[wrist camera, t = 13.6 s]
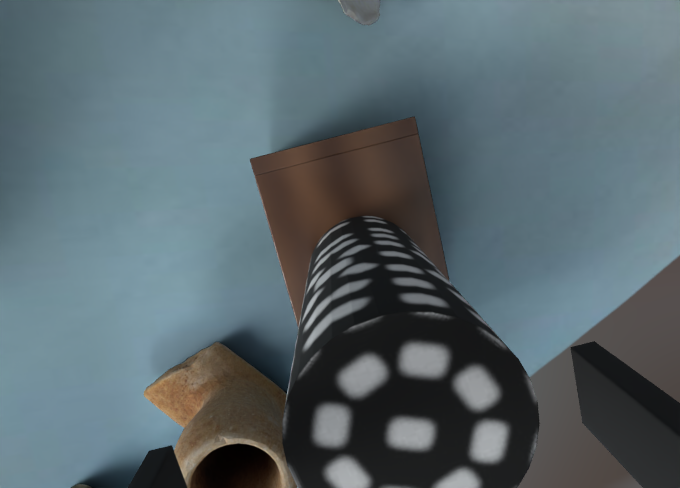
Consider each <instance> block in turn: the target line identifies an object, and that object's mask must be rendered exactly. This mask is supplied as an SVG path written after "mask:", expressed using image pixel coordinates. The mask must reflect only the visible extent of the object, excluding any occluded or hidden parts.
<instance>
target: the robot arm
mask: <svg viewBox="0 0 680 488" xmlns="http://www.w3.org/2000/svg"><path fill="white" fill-rule="evenodd" d="M571 353H572V359H573V366H574V372H575V378H576V385H577V391H578V397H579V403H580V410H581V416H582V423H583V424H584V425H585V426H586V427H587V428H588V429H589V430H590V431H591V433H592V434H593V435H594V436H595V437H596V438H597V439H598V440H599V441H600V442H601V443H602V444H603V445H604V446H605V448H606V449H607V450H608V451H609V452H610V453H611V454H612V455H613V456H614V457H615V458H616V459H617V460H618V461H619V463H620V464H621V465H622V466H623V467H624V468H625V469H626V470H627V471H628V472H629V473H630V474H631V475H632V476H633V478H634V479H636V481H637V482H638V483H639V484H640V485H641V486H642V487H643V488H680V403H679V402H677V401H676V400H674V399H673V398H672V397H670V396H669V395H668V394H666V393H665V392H664V391H662V390H661V389H660V388H658V387H657V386H655V385H654V384H653V383H651V382H650V381H648V380H647V379H646V378H644V377H643V376H641V375H640V374H639V373H637V372H636V371H635V370H633V369H632V368H630V367H629V366H628V365H626V364H625V363H624V362H622V361H621V360H619V359H618V358H617V357H615V356H614V355H612V354H611V353H609V352H608V351H607V350H605V349H604V348H603V347H601V346H600V345H599V344H597V343H596V342H590V343H586V344H582V345H578V346H574V347H571ZM128 488H187V485H186V482H185V480H184V477H183V474H182V471H181V469H180V466H179V463H178V461H177V458H176V455H175V453H174V450H173V447H172V445H171V446H167V447H163V448H159V449H155V450H151V451H149V452H148V454H147V455H146V457H145V459H144V460H143V462H142V464H141V466H140V467H139V469H138V471H137V472H136V474H135V476H134V478H133V479H132V481H131V483H130V484H129V486H128Z"/></svg>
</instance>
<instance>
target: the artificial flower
mask: <svg viewBox="0 0 680 488" xmlns="http://www.w3.org/2000/svg"><path fill="white" fill-rule="evenodd" d="M338 1H339V3H340V4H341V7H342V9H343V12H344V13H345V14H346V15H347V16H349V17H351V18H352V19H354V20H355V21H357V22H358V23H360V24H362V25H371V24H373V23H375V22H376V21H377V20H378V18H379V16H380V13H379V8H380V0H338Z"/></svg>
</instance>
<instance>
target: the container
mask: <svg viewBox="0 0 680 488" xmlns="http://www.w3.org/2000/svg"><path fill="white" fill-rule="evenodd" d="M71 488H91V487H90V486H88V485H82V484H77V485H75V486H73V487H71Z"/></svg>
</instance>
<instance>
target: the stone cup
mask: <svg viewBox="0 0 680 488" xmlns="http://www.w3.org/2000/svg"><path fill="white" fill-rule="evenodd" d="M144 396H145V397H146V398H147V399H148V400H149V401H151V402H152V403H153V404H154V405H155V406H156V407H158V408H159V409H160V410H162V411H163V412H164V413H165V414H167V415H168V416H169V417H170V418H171V419H173V420H174V421H175V422H176V423H178V424H179V425H181V426H182V427H184V428H185V429H184V430H183V432H182V434H181V436H180V438H179V440H178V442H177V444H176V447H175V450H174V453H175V455H176V458H177V461H178V463H179V466H180V469H181V471H182V474H183V477H184V480H185V482H186V485H187V488H297V486H296V483H295V481H294V479H293V477H292V475H291V473H290V470H289V468H288V466H287V463H286V458H285V453H284V449H283V444H282V420H283V414H284V408H285V403H286V397H287V394H286V393H285V392H284V391H283V390H282V389H281V388H280V387H278V386H277V385H276V384H275V383H274V382H272V381H271V380H270V379H268V378H267V377H266V376H264V375H263V374H262V373H260V372H259V371H258V370H257V369H255V368H254V367H253V366H251V365H250V364H249V363H247V362H246V361H245V360H243V359H242V358H240V357H239V356H238V355H236V354H235V353H234V352H232V351H231V350H230V349H229V348H227V347H226V346H224V345H222V344H221V343H219V342H215V343H214V344H213V345H212V346H210V347H208V348H205V349H202V350H201V351H200V352H199V353H197V354H195V355H194V356H192V357H190V358H188V359H187V360H186V361H185V362H184V363H182V364H179V365H177V366H175V367H173V368H171V369H169V370H168V371H167V372H166V373H165V374H163V375H162V376H161V377H159V378H158V379H157V380H156V381H155V382H154V383H152V384H151V385H150V386H148V387H147V388H146V390H145V391H144Z"/></svg>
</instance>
